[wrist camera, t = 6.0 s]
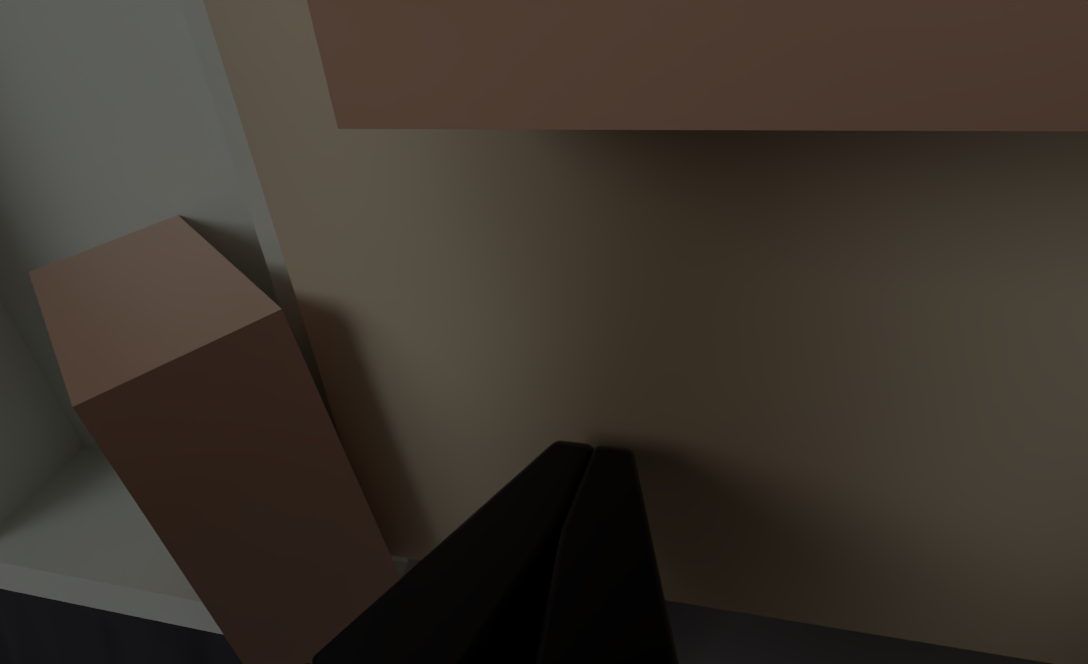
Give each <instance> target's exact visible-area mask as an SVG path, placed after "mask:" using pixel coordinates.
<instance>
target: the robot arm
mask: <svg viewBox="0 0 1088 664" xmlns="http://www.w3.org/2000/svg"><path fill="white" fill-rule="evenodd" d="M305 664H310V663H305ZM312 664H678V659H677V654H676V649H675V645H674V640H673V635H672V630H671V626H670V621H669V616H668V612H667V607H666V602H665V597H664V593H663V588H662V583H661V578H660V574H659V569H658V564H657V560H656V555H655V550H654V545H653V541H652V536H651V531H650V526H649V522H648V517H647V512H646V508H645V503H644V498H643V493H642V489H641V484H640V479H639V474H638V470H637V465H636V460H635V456H634V453H633V451H632V450H631V449H629V448H623V447H615V446H606V445H598V446H596V447H595V448H593V447H592V446H591V445H590V444H588V443H580V442H571V441H562V440H560V441H556V442H554V443H552V444H551V445H550V446H549V447H548V448H546V449H545V450H544V451H543V452H542V453H541V454H540V455H539V456H537V457H536V458H535V459H534V460H533V461H532V462H531V463H530V464H528V465H527V466H526V467H525V468H524V469H523V470H522V471H521V472H519V473H518V474H517V475H516V476H515V477H514V478H513V479H512V480H511V481H509V482H508V483H507V484H506V485H505V486H504V487H503V488H502V489H500V490H499V491H498V492H497V493H496V494H495V495H494V496H493V497H491V498H490V499H489V500H488V501H487V502H486V503H485V504H484V505H482V506H481V507H480V508H479V509H478V510H477V511H476V512H475V513H474V514H472V515H471V516H470V517H469V518H468V519H467V520H466V521H465V522H463V523H462V524H461V525H460V526H459V527H458V528H457V529H456V530H454V531H453V532H452V533H451V534H450V535H449V536H448V537H447V538H445V539H444V540H443V541H442V542H441V543H440V544H439V545H438V546H437V547H435V548H434V549H433V550H432V551H431V552H430V553H429V554H428V555H426V556H425V557H424V558H423V559H422V560H421V561H420V562H419V563H417V564H416V565H415V566H414V567H413V568H412V569H411V570H410V571H408V572H407V573H406V574H405V575H404V576H403V577H402V578H401V579H400V580H398V581H397V582H396V583H395V584H394V585H393V586H392V587H391V588H389V589H388V590H387V591H386V592H385V593H384V594H383V595H382V596H380V597H379V598H378V599H377V600H376V601H375V602H374V603H373V604H371V605H370V606H369V607H368V608H367V609H366V610H365V611H364V612H362V613H361V614H360V615H359V616H358V617H357V618H356V619H355V620H354V621H352V622H351V623H350V624H349V625H348V626H347V627H346V628H345V629H343V630H342V631H341V632H340V633H339V634H338V635H337V636H336V637H334V638H333V639H332V640H331V641H330V642H329V643H328V644H327V645H325V646H324V647H323V648H322V649H321V650H320V651H319V652H318V653H317V654H315V655H314V656H313V658H312Z"/></svg>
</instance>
